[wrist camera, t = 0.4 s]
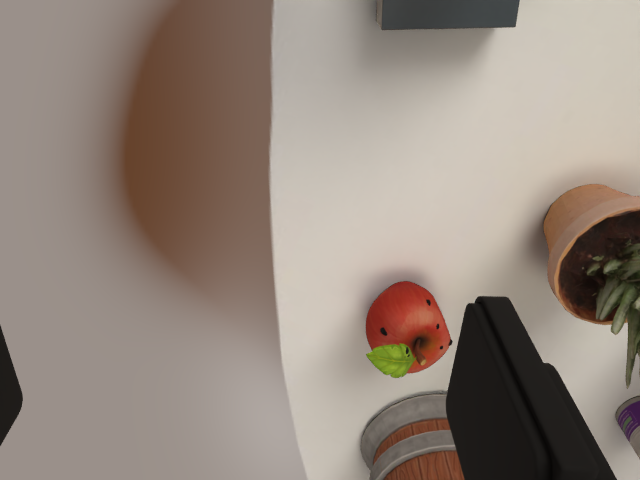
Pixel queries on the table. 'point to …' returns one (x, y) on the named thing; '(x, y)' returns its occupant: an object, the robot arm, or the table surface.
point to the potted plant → (597, 259)
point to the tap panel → (446, 14)
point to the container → (630, 422)
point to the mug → (412, 442)
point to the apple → (406, 330)
